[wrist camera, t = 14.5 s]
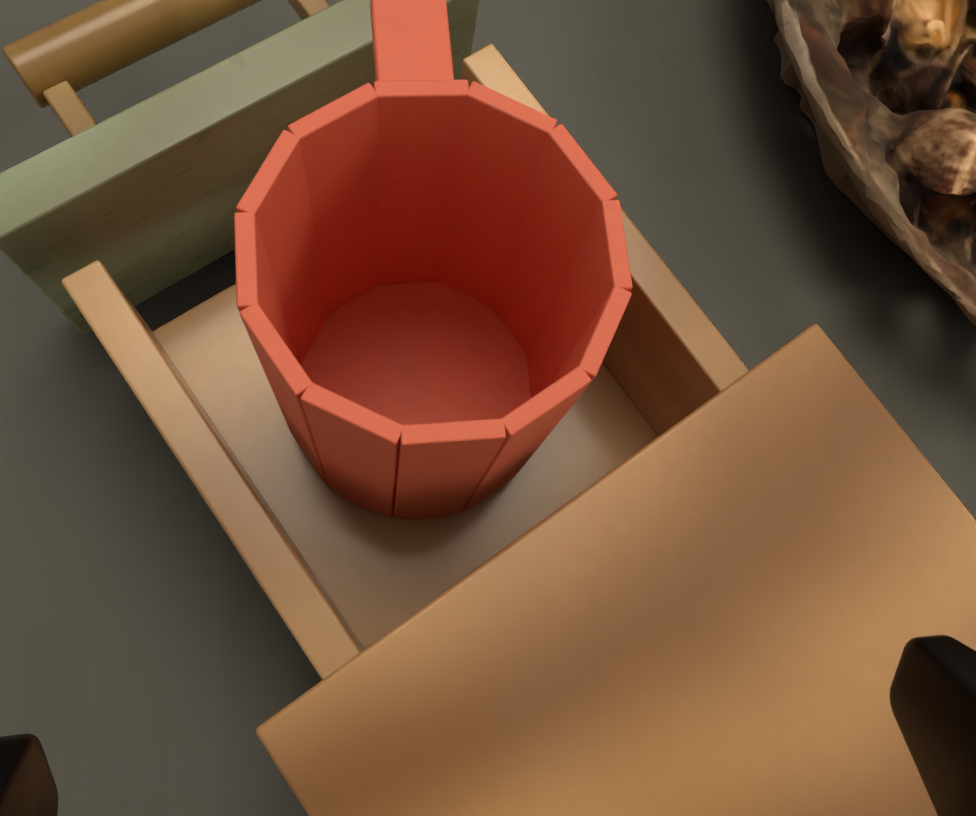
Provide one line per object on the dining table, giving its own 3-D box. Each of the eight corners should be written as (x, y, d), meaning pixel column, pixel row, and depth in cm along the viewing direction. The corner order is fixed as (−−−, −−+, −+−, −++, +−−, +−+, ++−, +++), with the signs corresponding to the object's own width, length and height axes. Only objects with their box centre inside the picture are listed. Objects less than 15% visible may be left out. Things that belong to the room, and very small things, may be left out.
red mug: (551, 508, 20) (654, 428, 13) (296, 529, 19) (240, 456, 12) (513, 185, 22) (582, -54, 15) (281, 192, 22) (225, -57, 14)
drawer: (-26, 168, 22) (-146, 28, 17) (352, -21, 25) (345, -190, 20) (369, 771, 19) (364, 816, 14) (741, 486, 22) (846, 440, 17)
